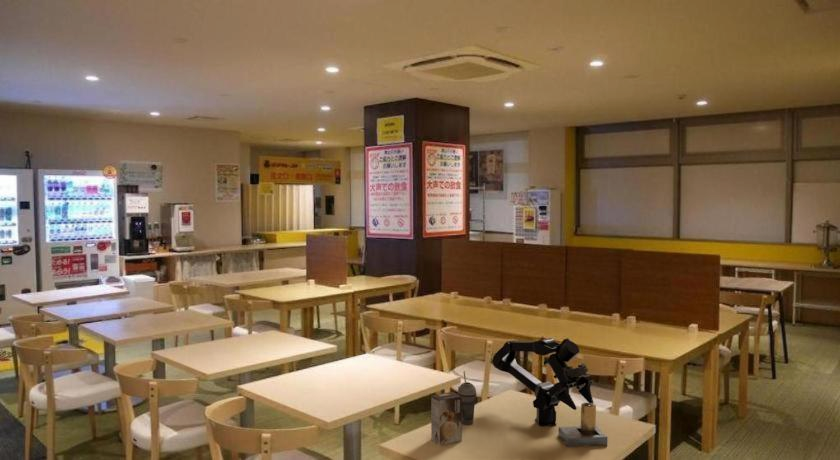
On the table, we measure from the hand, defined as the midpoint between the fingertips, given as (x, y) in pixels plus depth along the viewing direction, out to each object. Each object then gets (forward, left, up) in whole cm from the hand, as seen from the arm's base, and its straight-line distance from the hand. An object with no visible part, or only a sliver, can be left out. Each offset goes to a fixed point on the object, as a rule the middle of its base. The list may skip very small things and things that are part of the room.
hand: (584, 406), depth 213 cm
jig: (-1, -2, -11) cm, 12 cm away
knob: (+1, -2, -11) cm, 12 cm away
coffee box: (-49, +2, -12) cm, 50 cm away
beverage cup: (-39, +17, -12) cm, 44 cm away
